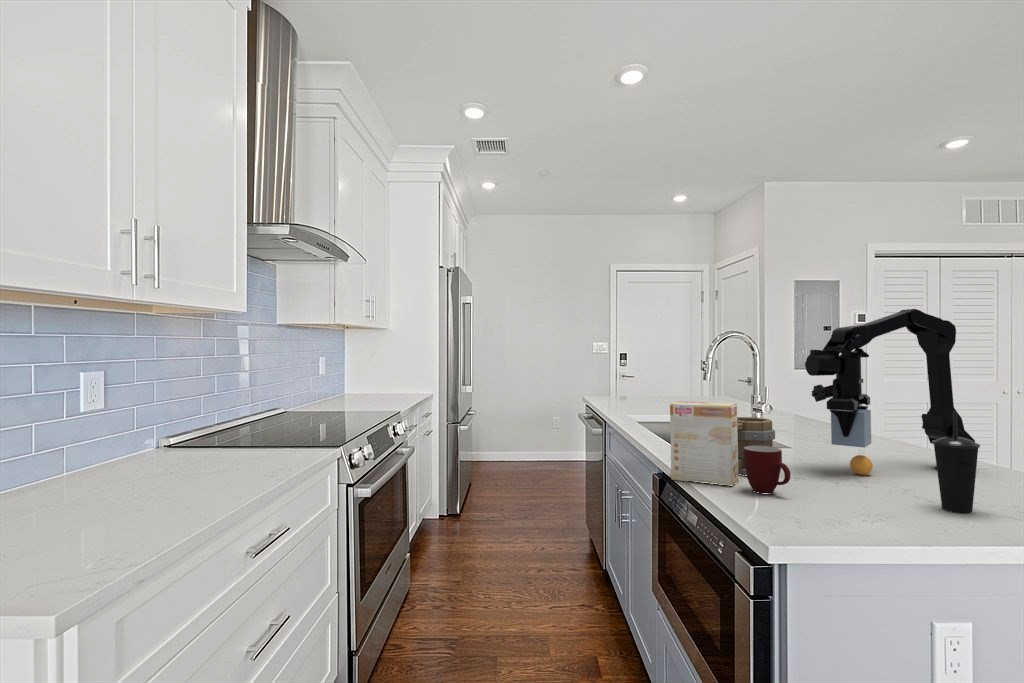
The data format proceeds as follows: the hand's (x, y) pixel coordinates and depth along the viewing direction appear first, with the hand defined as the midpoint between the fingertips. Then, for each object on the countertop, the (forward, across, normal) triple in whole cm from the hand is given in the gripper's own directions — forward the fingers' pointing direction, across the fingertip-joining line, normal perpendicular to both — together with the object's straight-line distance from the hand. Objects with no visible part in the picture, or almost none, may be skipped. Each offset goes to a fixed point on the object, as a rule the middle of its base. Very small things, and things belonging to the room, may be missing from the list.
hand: (849, 434), depth 147 cm
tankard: (+10, +18, -21) cm, 30 cm away
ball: (+8, 0, +2) cm, 8 cm away
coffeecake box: (+10, +32, -25) cm, 42 cm away
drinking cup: (+10, +23, +24) cm, 35 cm away
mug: (+10, +34, -9) cm, 37 cm away
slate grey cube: (+2, 0, 0) cm, 2 cm away
